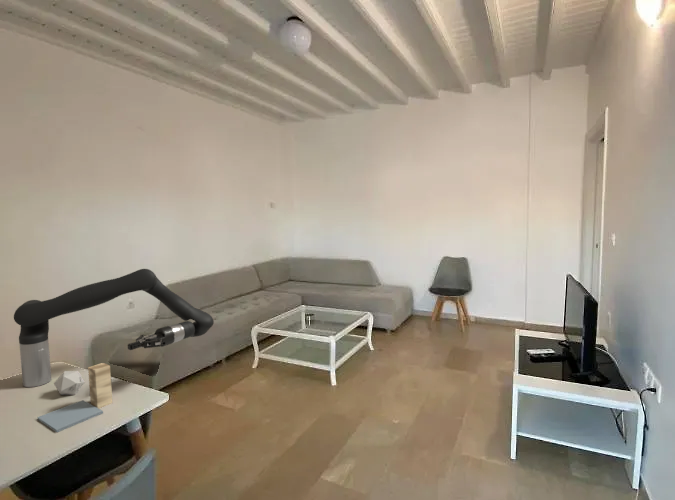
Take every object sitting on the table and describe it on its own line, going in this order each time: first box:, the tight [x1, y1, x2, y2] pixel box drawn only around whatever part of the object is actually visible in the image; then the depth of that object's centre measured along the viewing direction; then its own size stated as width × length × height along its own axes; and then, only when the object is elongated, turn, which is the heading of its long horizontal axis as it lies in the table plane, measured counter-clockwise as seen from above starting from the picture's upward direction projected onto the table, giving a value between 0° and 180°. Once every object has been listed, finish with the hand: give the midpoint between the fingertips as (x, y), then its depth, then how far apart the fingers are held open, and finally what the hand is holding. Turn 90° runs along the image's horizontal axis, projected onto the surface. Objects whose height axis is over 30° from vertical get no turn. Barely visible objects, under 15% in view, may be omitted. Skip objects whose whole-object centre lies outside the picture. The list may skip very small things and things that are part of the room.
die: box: [53, 370, 86, 396], centre depth 151 cm, size 8×9×10 cm
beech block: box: [87, 362, 113, 409], centre depth 142 cm, size 5×5×14 cm
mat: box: [37, 400, 104, 433], centre depth 134 cm, size 14×14×1 cm
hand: (128, 347), depth 150 cm, fingers closed
